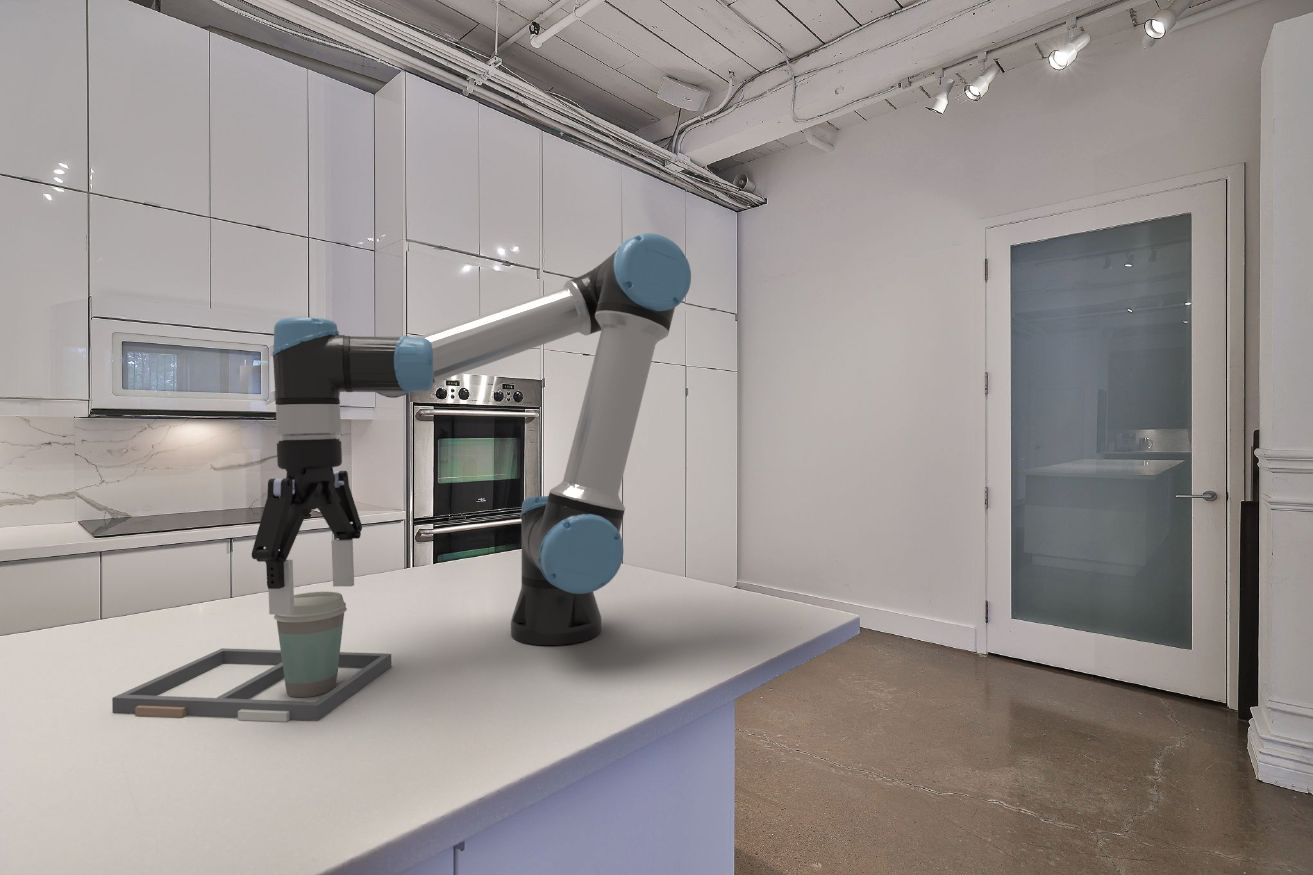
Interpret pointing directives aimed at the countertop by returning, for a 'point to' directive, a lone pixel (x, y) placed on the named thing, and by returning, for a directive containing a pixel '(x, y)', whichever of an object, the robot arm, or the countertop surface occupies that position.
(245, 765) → the countertop surface
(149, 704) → the divided tray
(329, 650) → the coffee cup
